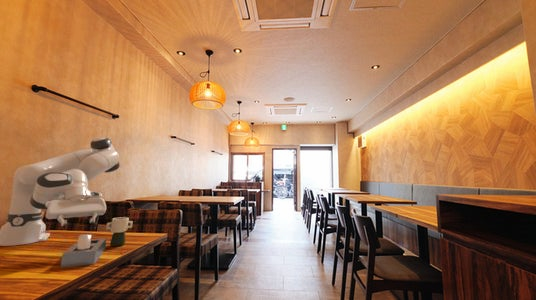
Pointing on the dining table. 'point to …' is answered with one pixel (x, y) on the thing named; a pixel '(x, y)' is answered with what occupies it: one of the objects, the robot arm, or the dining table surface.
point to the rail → (83, 254)
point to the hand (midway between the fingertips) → (78, 223)
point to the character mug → (119, 230)
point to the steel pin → (84, 242)
